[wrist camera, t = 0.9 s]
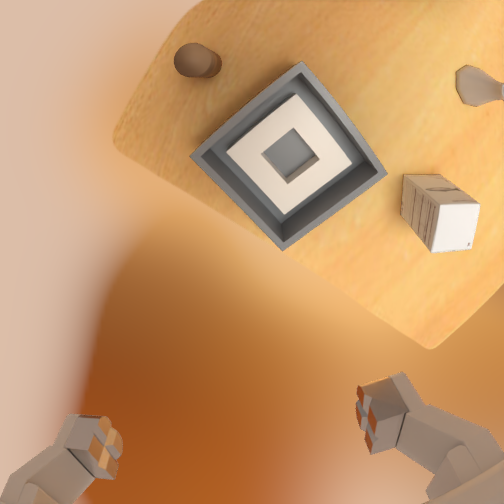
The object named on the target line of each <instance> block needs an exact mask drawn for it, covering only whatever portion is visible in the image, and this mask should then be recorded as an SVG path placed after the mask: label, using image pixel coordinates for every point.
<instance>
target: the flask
mask: <svg viewBox="0 0 504 504" xmlns="http://www.w3.org/2000/svg"><path fill="white" fill-rule="evenodd" d="M456 89H457V91H458V93H459V95H460V97H461V99H462V101H463V103H464V104H467V105H471V106H475V107H477V106H480V105H483V104H485V103H488V102H491V101H494V100H503V101H504V83H500V82H498V81H496V80H495V79H493V78H492V77H491V76H489V75H488V74H486V73H485V72H484V71H483V70H481V69H479V68H476V67H473V66H469V65H466V66H464V67H463V68H461V69H460V70H458V71H457V72H456Z"/></svg>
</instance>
